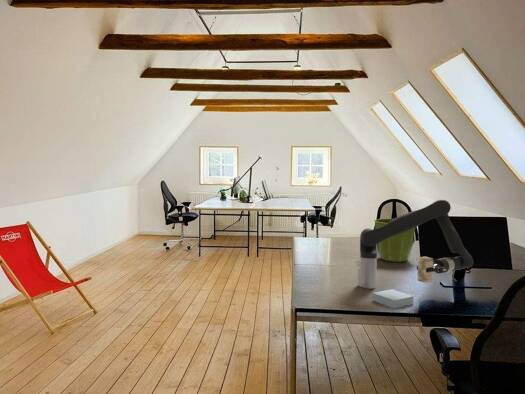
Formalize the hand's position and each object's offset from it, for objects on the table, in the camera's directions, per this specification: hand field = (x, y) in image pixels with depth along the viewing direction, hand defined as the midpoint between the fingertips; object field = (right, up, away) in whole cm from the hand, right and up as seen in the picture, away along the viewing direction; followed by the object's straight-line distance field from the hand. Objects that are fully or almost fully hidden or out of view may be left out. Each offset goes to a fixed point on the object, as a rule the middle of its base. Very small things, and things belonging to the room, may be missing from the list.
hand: (422, 269), depth 221 cm
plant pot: (+16, -10, +102) cm, 104 cm away
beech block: (+2, -6, +2) cm, 7 cm away
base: (-14, -17, +2) cm, 22 cm away
